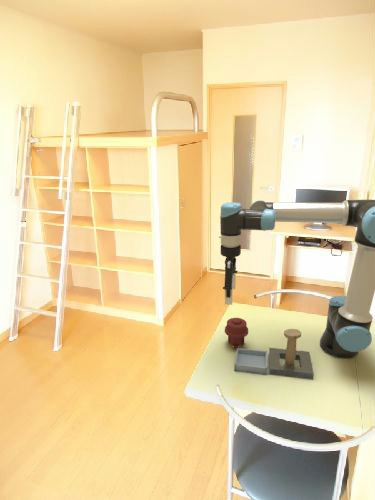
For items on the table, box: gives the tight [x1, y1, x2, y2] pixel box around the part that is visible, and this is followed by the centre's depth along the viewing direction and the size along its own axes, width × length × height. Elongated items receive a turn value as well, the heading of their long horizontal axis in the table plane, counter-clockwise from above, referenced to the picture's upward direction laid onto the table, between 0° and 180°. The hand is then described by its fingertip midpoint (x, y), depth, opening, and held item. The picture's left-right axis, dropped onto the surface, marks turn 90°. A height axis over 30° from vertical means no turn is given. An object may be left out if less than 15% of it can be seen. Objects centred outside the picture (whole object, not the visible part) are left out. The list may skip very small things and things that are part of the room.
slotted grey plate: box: [268, 347, 315, 380], centre depth 140 cm, size 16×14×2 cm
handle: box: [283, 328, 302, 367], centre depth 138 cm, size 5×6×15 cm
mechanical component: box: [224, 317, 249, 350], centre depth 152 cm, size 12×10×10 cm
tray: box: [234, 347, 268, 376], centre depth 141 cm, size 12×11×3 cm
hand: (230, 296), depth 139 cm, fingers open, 13 cm apart
